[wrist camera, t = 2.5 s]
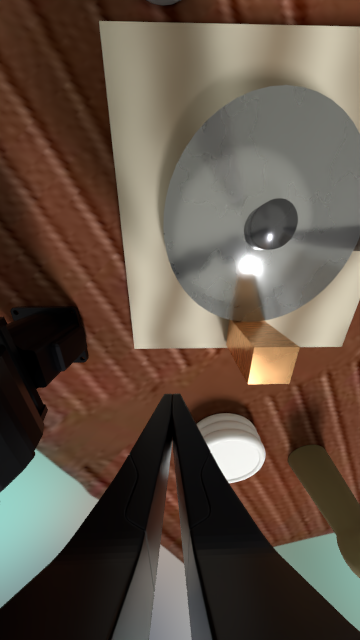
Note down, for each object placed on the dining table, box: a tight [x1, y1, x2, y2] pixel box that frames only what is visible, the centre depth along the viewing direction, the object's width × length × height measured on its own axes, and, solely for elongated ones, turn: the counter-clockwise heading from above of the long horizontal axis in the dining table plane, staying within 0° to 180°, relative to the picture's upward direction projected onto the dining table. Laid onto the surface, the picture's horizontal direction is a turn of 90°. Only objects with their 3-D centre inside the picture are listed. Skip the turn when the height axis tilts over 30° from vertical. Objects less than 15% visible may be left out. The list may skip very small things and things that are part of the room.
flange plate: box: [163, 85, 360, 384], centre depth 12 cm, size 18×15×6 cm
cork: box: [288, 445, 360, 578], centre depth 22 cm, size 6×6×11 cm
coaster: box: [196, 413, 265, 483], centre depth 24 cm, size 10×10×4 cm
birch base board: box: [99, 21, 360, 349], centre depth 12 cm, size 22×22×6 cm
